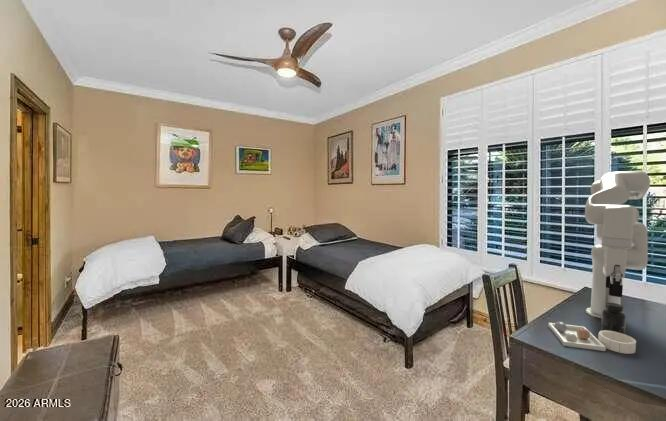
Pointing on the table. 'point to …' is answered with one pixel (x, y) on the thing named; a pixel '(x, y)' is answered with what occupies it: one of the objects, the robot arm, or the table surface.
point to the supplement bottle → (613, 318)
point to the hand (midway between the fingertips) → (613, 292)
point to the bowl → (617, 341)
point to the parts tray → (581, 343)
